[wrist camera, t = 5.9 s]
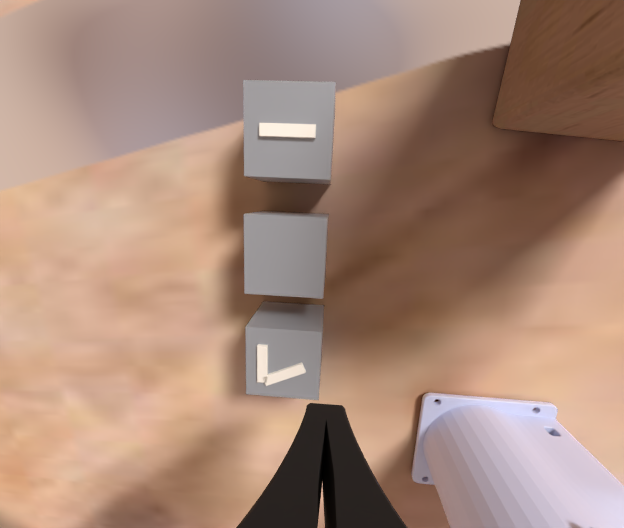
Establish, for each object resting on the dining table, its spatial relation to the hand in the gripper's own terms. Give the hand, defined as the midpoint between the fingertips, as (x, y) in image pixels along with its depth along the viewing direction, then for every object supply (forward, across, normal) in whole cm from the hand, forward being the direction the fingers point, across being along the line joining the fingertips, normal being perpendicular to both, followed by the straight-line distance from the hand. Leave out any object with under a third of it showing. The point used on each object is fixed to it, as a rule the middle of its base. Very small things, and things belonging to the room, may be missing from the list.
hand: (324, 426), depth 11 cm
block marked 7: (+11, +2, +2) cm, 11 cm away
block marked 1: (+11, +2, -12) cm, 16 cm away
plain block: (+11, +2, -5) cm, 12 cm away
